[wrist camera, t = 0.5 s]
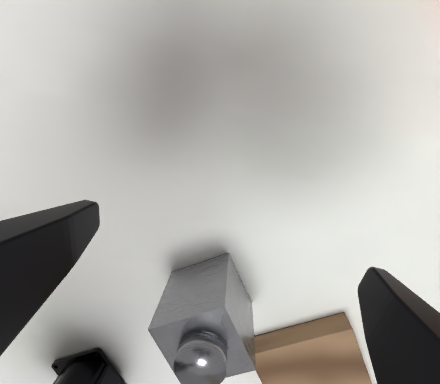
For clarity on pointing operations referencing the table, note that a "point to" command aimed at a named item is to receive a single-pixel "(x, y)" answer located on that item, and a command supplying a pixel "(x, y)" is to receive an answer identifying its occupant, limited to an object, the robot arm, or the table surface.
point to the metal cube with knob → (205, 323)
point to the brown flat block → (311, 354)
